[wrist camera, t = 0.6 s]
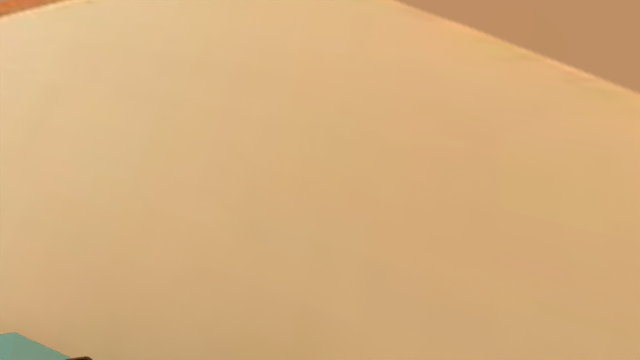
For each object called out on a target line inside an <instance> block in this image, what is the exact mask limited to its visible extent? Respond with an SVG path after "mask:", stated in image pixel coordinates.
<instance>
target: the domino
mask: <svg viewBox="0 0 640 360" xmlns="http://www.w3.org/2000/svg"><path fill="white" fill-rule="evenodd" d="M69 358H70V357H68V356H66V355H63V354H61V353H59V352H57V351H55V350H52V349H50V348H48V347H46V346H44V345H41V344H39V343H37V342H35V341H33V340H30V339H28V338H26V337H24V336H22V335H19V334H17V333H8V334H0V360H65V359H69Z"/></svg>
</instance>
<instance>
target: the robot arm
mask: <svg viewBox="0 0 640 360" xmlns="http://www.w3.org/2000/svg"><path fill="white" fill-rule="evenodd" d="M65 360H92V359H91V358H90V357H86V356H85V357H77V358H69V359H65Z"/></svg>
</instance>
